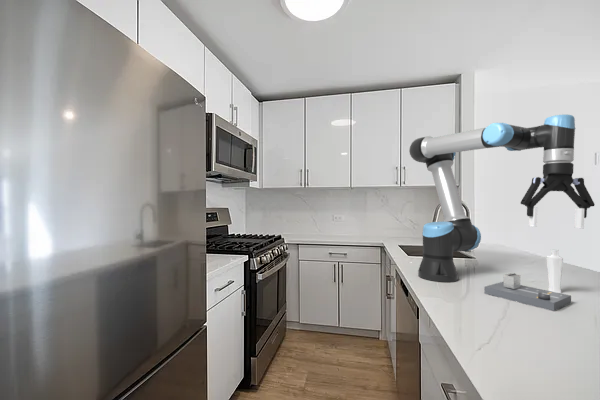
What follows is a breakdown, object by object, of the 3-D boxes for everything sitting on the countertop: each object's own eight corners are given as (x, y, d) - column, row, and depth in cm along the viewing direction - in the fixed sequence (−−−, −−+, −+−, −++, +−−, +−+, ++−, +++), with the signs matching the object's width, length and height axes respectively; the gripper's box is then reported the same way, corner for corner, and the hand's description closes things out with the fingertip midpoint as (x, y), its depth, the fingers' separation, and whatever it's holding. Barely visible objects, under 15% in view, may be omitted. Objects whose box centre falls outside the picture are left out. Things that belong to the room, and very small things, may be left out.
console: (484, 293, 100) (484, 281, 100) (503, 287, 108) (503, 277, 108) (553, 311, 84) (553, 297, 84) (571, 303, 91) (571, 290, 91)
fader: (503, 286, 99) (503, 274, 99) (510, 284, 102) (510, 272, 102) (513, 288, 97) (513, 275, 97) (520, 286, 99) (520, 274, 99)
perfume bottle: (567, 293, 102) (567, 251, 102) (554, 293, 102) (554, 250, 102) (556, 289, 106) (556, 249, 107) (544, 289, 106) (544, 248, 107)
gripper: (523, 161, 93) (520, 226, 94) (612, 161, 89) (609, 230, 90) (510, 164, 101) (507, 224, 101) (591, 164, 97) (589, 227, 97)
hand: (555, 227), depth 95 cm, fingers open, 13 cm apart
